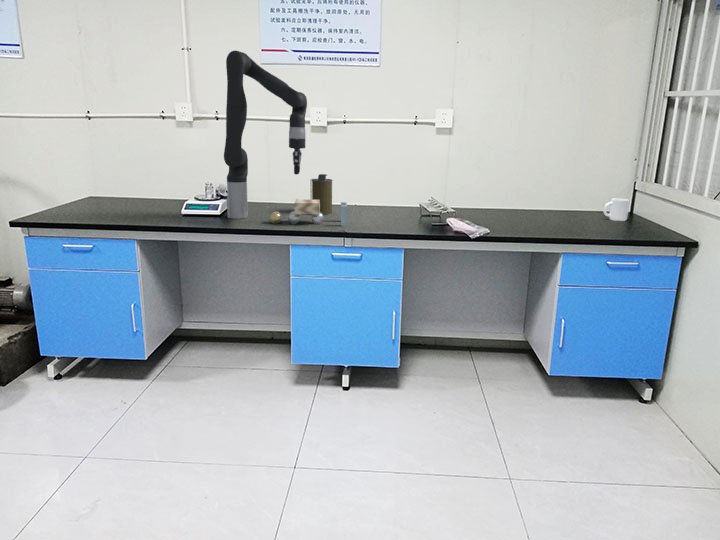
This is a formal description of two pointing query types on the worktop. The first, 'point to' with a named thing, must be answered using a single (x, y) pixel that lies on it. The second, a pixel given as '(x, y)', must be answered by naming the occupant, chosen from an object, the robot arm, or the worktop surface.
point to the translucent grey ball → (317, 218)
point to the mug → (617, 209)
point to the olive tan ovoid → (275, 217)
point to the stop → (343, 214)
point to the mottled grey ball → (294, 218)
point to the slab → (307, 206)
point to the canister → (323, 193)
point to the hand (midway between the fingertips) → (296, 173)
